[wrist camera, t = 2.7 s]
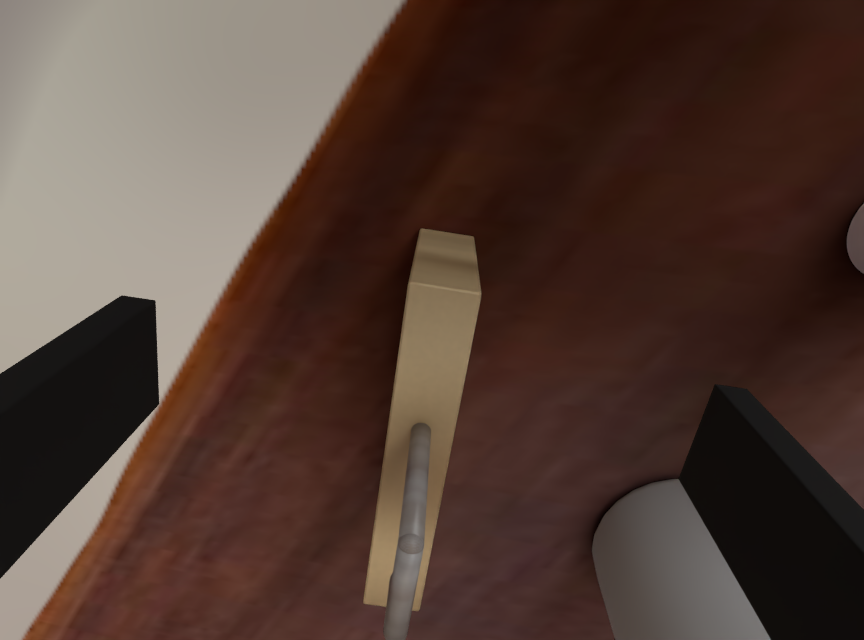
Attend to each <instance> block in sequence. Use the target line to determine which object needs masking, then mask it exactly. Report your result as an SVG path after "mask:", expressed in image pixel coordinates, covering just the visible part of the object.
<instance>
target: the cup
mask: <svg viewBox="0 0 864 640" xmlns="http://www.w3.org/2000/svg"><path fill="white" fill-rule="evenodd" d="M592 554H593V559H594V564H595V569H596V574H597V579H598V583H599V586H600V589H601V593H602V596H603V600H604V603H605V607H606V610H607V614H608V617H609V620H610V624H611V627H612V631H613V634H614V638H615V640H771V639H770V637H769V635H768V634H767V632H766V630H765V628H764V627H763V625H762V623H761V622H760V620H759V618H758V616H757V615H756V613H755V611H754V609H753V608H752V606H751V604H750V602H749V601H748V599H747V597H746V595H745V594H744V592H743V590H742V589H741V587H740V585H739V583H738V582H737V580H736V578H735V576H734V575H733V573H732V571H731V569H730V568H729V566H728V564H727V562H726V561H725V559H724V557H723V556H722V554H721V552H720V550H719V549H718V547H717V545H716V543H715V542H714V540H713V538H712V536H711V535H710V533H709V531H708V529H707V528H706V526H705V524H704V523H703V521H702V519H701V517H700V516H699V514H698V512H697V510H696V509H695V507H694V505H693V503H692V502H691V500H690V498H689V496H688V495H687V493H686V491H685V490H684V488H683V486H682V484H681V483H680V481H679V479H670V480H664V481H659V482H653V483H650V484H647V485H645V486H642V487H640V488H637V489H635V490H633V491H631V492H630V493H628V494H627V495H625V496H624V497H622V498H621V499H619V500H618V501H617V502H616V503H615V504H614V505H613V506H612V507H611V508H610V509H609V510H608V511H607V512H606V514H605V515H604V517H603V518H602V520H601V522H600V524H599V526H598V528H597V530H596V532H595V534H594V540H593V546H592Z"/></svg>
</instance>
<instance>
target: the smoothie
mask: <svg viewBox="0 0 864 640" xmlns="http://www.w3.org/2000/svg"><path fill="white" fill-rule="evenodd" d="M847 251H848V255H849V257H850V260H851V262H852V263H853V265H854V266H855V267H856V268H857V269H858V270H859V271H860V272H862V273H863V274H864V203H863V205H862V206H861V207H860V208H859V210H858V211H857V213H856V214H855V216H854V218H853V220H852V222H851V224H850V227H849V230H848V234H847Z"/></svg>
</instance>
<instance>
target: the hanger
mask: <svg viewBox="0 0 864 640" xmlns="http://www.w3.org/2000/svg"><path fill="white" fill-rule="evenodd" d="M481 295H482V294H481V287H480V279H479V272H478V264H477V256H476V249H475V241H474V237H473V236H467V235H461V234H454V233H448V232H441V231H435V230H428V229H420V231H419V236H418V240H417V245H416V249H415V254H414V259H413V263H412V268H411V273H410V277H409V282H408V288H407V295H406V302H405V309H404V316H403V323H402V330H401V337H400V344H399V351H398V358H397V365H396V373H395V380H394V387H393V394H392V401H391V408H390V415H389V422H388V429H387V436H386V443H385V450H384V457H383V464H382V471H381V478H380V485H379V492H378V500H377V507H376V514H375V521H374V528H373V535H372V542H371V549H370V556H369V563H368V570H367V577H366V584H365V591H364V598H363V603H364V604H368V605H376V606H383V607H386V613H385V621H384V629H383V633H384V637H385V639H386V640H405V639H406V637H407V634H408V628H409V623H410V618H411V612H412V611H419V610H420V606H421V601H422V596H423V591H424V586H425V580H426V575H427V570H428V565H429V560H430V555H431V550H432V545H433V540H434V535H435V530H436V524H437V519H438V514H439V509H440V504H441V499H442V494H443V489H444V484H445V479H446V474H447V468H448V463H449V458H450V453H451V448H452V443H453V438H454V433H455V428H456V423H457V418H458V412H459V407H460V402H461V397H462V392H463V387H464V382H465V377H466V372H467V367H468V362H469V356H470V351H471V346H472V341H473V336H474V331H475V326H476V321H477V316H478V311H479V306H480V300H481Z"/></svg>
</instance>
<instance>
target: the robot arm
mask: <svg viewBox="0 0 864 640" xmlns="http://www.w3.org/2000/svg"><path fill="white" fill-rule="evenodd" d="M158 405H159V389H158V361H157V334H156V305H155V300H148V299H142V298H135V297H128V296H120V297H119V298H117V299H115V300H114V301H112V302H111V303H109V304H108V305H106V306H105V307H103V308H102V309H100V310H99V311H97V312H95V313H94V314H92V315H91V316H89V317H88V318H86V319H85V320H83V321H81V322H80V323H79V324H77V325H75V326H74V327H72V328H71V329H69V330H67V331H66V332H64V333H63V334H61V335H60V336H58V337H57V338H55V339H53V340H52V341H50V342H49V343H47V344H46V345H44V346H43V347H41V348H39V349H38V350H36V351H35V352H33V353H32V354H30V355H29V356H27V357H25V358H24V359H22V360H21V361H19V362H18V363H16V364H15V365H13V366H12V367H10V368H8V369H7V370H6V371H4V372H2V373H1V374H0V578H1V577H2V576H3V575H4V574H5V573H6V572H7V571H8V570H9V569H10V567H11V566H12V565H13V564H14V563H15V562H16V561H17V560H18V559H19V558H20V556H21V555H22V554H23V553H24V552H25V551H26V550H27V549H28V548H29V546H30V545H31V544H32V543H33V542H34V541H35V540H36V539H37V538H38V537H39V536H40V534H41V533H42V532H43V531H44V530H45V529H46V528H47V527H48V526H49V524H50V523H51V522H52V521H53V520H54V519H55V518H56V517H57V515H59V513H60V512H61V511H62V510H63V509H64V508H65V507H66V506H67V505H68V503H70V501H71V500H72V499H73V498H74V497H75V496H76V495H77V494H78V493H79V492H80V490H81V489H82V488H83V487H84V486H85V485H86V484H87V483H88V481H90V479H91V478H92V477H93V476H94V475H95V474H96V473H97V472H98V471H99V469H100V468H101V467H102V466H103V465H104V464H105V463H106V462H107V461H108V460H109V458H110V457H111V456H112V455H113V454H114V453H115V452H116V451H117V450H118V448H119V447H120V446H121V445H122V444H123V443H124V442H125V441H126V440H127V438H128V437H129V436H130V435H131V434H132V433H133V432H134V431H135V430H136V429H137V428H138V426H140V424H141V423H142V422H143V421H144V420H145V419H146V418H147V417H148V416H149V415H150V413H151V412H152V411H153V410H154V409H155V408H156V407H157V406H158ZM679 481H680V483H681V484H682V486H683V488H684V490H685V491H686V493H687V495H688V496H689V498H690V500H691V502H692V503H693V505H694V507H695V509H696V510H697V512H698V514H699V516H700V517H701V519H702V521H703V523H704V524H705V526H706V528H707V529H708V531H709V533H710V535H711V536H712V538H713V540H714V542H715V543H716V545H717V547H718V549H719V550H720V552H721V554H722V556H723V557H724V559H725V561H726V562H727V564H728V566H729V568H730V569H731V571H732V573H733V575H734V576H735V578H736V580H737V582H738V583H739V585H740V587H741V589H742V590H743V592H744V594H745V595H746V597H747V599H748V601H749V602H750V604H751V606H752V608H753V609H754V611H755V613H756V615H757V616H758V618H759V620H760V622H761V623H762V625H763V627H764V628H765V630H766V632H767V634H768V635H769V637H770V639H771V640H864V510H863V509H862V508H861V507H860V506H859V505H858V503H857V502H856V501H855V500H854V499H853V498H852V497H851V496H850V495H849V494H848V493H847V492H846V491H845V490H844V489H843V488H842V487H841V486H840V485H839V484H838V483H837V482H836V481H835V480H834V479H833V478H832V477H831V476H830V475H829V474H828V473H827V471H826V470H825V469H824V468H823V467H822V466H821V465H820V464H819V463H818V462H817V461H816V460H815V459H814V458H813V457H812V456H811V455H810V454H809V453H808V452H807V451H806V450H805V449H804V448H803V447H802V446H801V445H800V444H799V443H798V442H797V440H796V439H795V438H794V437H793V436H792V435H791V434H790V433H789V432H788V431H787V430H786V429H785V428H784V427H783V426H782V425H781V424H780V423H779V422H778V421H777V420H776V419H775V418H774V417H773V416H772V415H771V414H770V413H769V412H768V411H767V410H766V408H765V407H764V406H763V405H762V404H761V403H760V402H759V401H758V400H757V399H756V398H755V397H754V396H753V395H752V394H751V393H750V392H749V391H748V390H747V389H743V388H737V387H730V386H723V385H716V384H715V386H714V388H713V391H712V393H711V396H710V399H709V401H708V404H707V406H706V409H705V412H704V414H703V417H702V419H701V422H700V424H699V427H698V430H697V432H696V435H695V437H694V440H693V443H692V445H691V448H690V450H689V453H688V456H687V458H686V461H685V463H684V466H683V469H682V471H681V474H680V476H679Z"/></svg>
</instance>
